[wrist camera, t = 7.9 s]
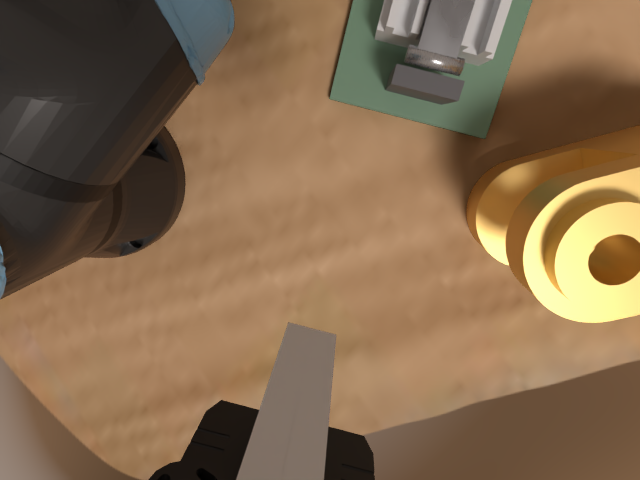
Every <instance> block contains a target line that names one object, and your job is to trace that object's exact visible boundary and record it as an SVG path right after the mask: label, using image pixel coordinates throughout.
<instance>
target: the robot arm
mask: <svg viewBox="0 0 640 480" xmlns="http://www.w3.org/2000/svg"><path fill="white" fill-rule="evenodd" d="M234 20H235V18H234V10H233V6H232V3H231V1H230V0H0V299H2V298H4V297H6V296H8V295H10V294H12V293H14V292H16V291H18V290H20V289H22V288H24V287H26V286H28V285H30V284H32V283H34V282H36V281H38V280H40V279H42V278H44V277H46V276H48V275H50V274H52V273H54V272H56V271H58V270H60V269H62V268H64V267H66V266H68V265H70V264H72V263H74V262H76V261H78V260H79V259H81V258H83V257H93V258H114V257H121V256H126V255H129V254H132V253H135V252H138V251H140V250H142V249H144V248H145V247H147V246H149V245H151V244H152V243H154V242H156V241H157V240H158V239H160V238H161V237H162V236H163V235H164V234H165V233H166V232H167V231H168V230H169V229H170V228H171V227H172V225H173V224H174V222H175V220H176V219H177V217H178V215H179V213H180V210H181V207H182V204H183V199H184V193H185V174H184V167H183V163H182V159H181V156H180V154H179V151H178V149H177V147H176V144H175V143H174V141H173V139H172V137H171V136H170V134H169V133H168V131H167V130H166V129H165V127H164V125H165V124H166V123H167V121H168V120H169V119H170V118H171V116H172V115H173V114H174V113H175V111H176V110H177V109H178V107H179V106H180V105H181V104H182V102H183V101H184V100H185V99H186V97H187V96H188V95H189V94H190V92H191V91H192V90H193V89H194V87H195V86H196V85H197V84H198V85H199V86H200V85H201V84H202V83H203V82H204V80H205V73H206V71H207V70H208V68H209V67H210V66H211V64H212V63H213V61H214V60H215V59H216V57H217V56H218V54H219V53H220V52H221V50H222V49H223V48H224V46H225V45H226V43H227V42H228V40H229V39H230V37H231V35H232V32H233V29H234ZM335 344H336V335H335V334H332V333H328V332H324V331H320V330H316V329H312V328H308V327H305V326H301V325H297V324H293V323H289V322H288V325H287V328H286V331H285V334H284V337H283V340H282V343H281V346H280V349H279V352H278V355H277V358H276V361H275V364H274V367H273V370H272V373H271V376H270V379H269V382H268V385H267V388H266V391H265V394H264V397H263V400H262V403H261V406H260V410H257V409H253V408H249V407H246V406H242V405H238V404H234V403H230V402H227V401H223V400H221V401H220V402H218V403H217V404H215V405H214V406H213V407H211V408H210V409H209V410H207V411H206V413H205V414H204V416H203V418H202V420H201V422H200V424H199V426H198V429H197V430H196V432H195V434H194V436H193V438H192V440H191V442H190V444H189V445H188V447H187V449H186V451H185V453H184V455H183V457H182V459H181V461H179V462H173V463H170V464H168V465H166V466H164V467H162V468H160V469H159V470H157V471H156V472H155V473H154V474H153V475H152V476H151V477H150V479H149V480H375V478H374V477H375V476H374V460H373V452H372V450H371V449H370V447H369V445H368V443H367V441H366V439H365V437H364V436H362V435H358V434H354V433H351V432H347V431H343V430H339V429H335V428H332V427H328V425H329V413H330V402H331V390H332V378H333V367H334V355H335Z"/></svg>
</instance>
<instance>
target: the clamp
mask: <svg viewBox="0 0 640 480" xmlns="http://www.w3.org/2000/svg"><path fill="white" fill-rule="evenodd" d="M517 206H518V207H517ZM516 207H517V208H516ZM515 209H516V210H515ZM466 214H467V222H468V226H469V229H470V231H471V233H472V235H473V237H474V238H475V239H476V241H477V242H478V243H479V244H480V245H481V246H482V247H483V248H484V249H485V250H486V251H487V252H488V253H489V254H491V255H492V256H493V257H494V258H495V259H497V260H498V261H500V262H502V263H504V264H506V265H509V266H510V268H511V270H512V272H513V274H514V275H515V277H516V278H517V279H518V281H519V282H520V283H521V284H522V285H523V286H524V287H525V288H526V289H527V290H528V291H529V292H530V293H531V294H533V295H534V296H535V297H536V298H537V299H538V300H539V301H540V302H541V303H542V304H543V305H544V306H545V307H547V308H548V309H549V310H551V311H552V312H554V313H556V314H558V315H560V316H562V317H564V318H567V319H570V320H574V321H579V322H588V323H598V322H607V321H612V320H617V319H622V318H626V317H631V316H636V315H640V125H638V126H634V127H631V128H627V129H623V130H619V131H616V132H612V133H608V134H605V135H601V136H597V137H594V138H590V139H586V140H583V141H579V142H575V143H571V144H568V145H564V146H560V147H557V148H553V149H549V150H546V151H542V152H538V153H534V154H531V155H527V156H523V157H520V158H516V159H512V160H509V161H505V162H503V163H500V164H498V165H496V166H494V167H493V168H491V169H490V170H488V171H487V172H486V173H485V174H484V175H483V176H482V177H481V178H480V179H479V180H478V181H477V183H476V184H475V186H474V187H473V189H472V191H471V193H470V196H469V199H468V203H467V211H466Z"/></svg>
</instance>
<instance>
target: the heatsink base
mask: <svg viewBox="0 0 640 480" xmlns="http://www.w3.org/2000/svg"><path fill="white" fill-rule="evenodd" d="M430 1H431V0H353V3H352V7H351V12H350V16H349V20H348V24H347V28H346V32H345V36H344V40H343V45H342V49H341V53H340V57H339V61H338V65H337V69H336V74H335V78H334V82H333V86H332V90H331V94H330V98H329V99H331V100H335V101H338V102H342V103H346V104H350V105H354V106H358V107H362V108H366V109H370V110H374V111H377V112H381V113H385V114H389V115H393V116H397V117H401V118H405V119H409V120H412V121H416V122H420V123H424V124H428V125H432V126H436V127H440V128H444V129H448V130H451V131H455V132H459V133H463V134H467V135H471V136H475V137H479V138H483V139H485V138H486V135H487V132H488V129H489V126H490V124H491V121H492V118H493V115H494V112H495V109H496V106H497V103H498V100H499V97H500V94H501V91H502V88H503V85H504V82H505V79H506V76H507V73H508V71H509V68H510V65H511V62H512V59H513V56H514V53H515V50H516V47H517V44H518V41H519V38H520V35H521V32H522V29H523V26H524V23H525V20H526V18H527V15H528V12H529V9H530V6H531V3H532V0H475V3H474V6H473V10H472V13H471V16H470V19H469V22H468V25H467V28H466V31H465V34H464V38H463V41H462V44H461V47H460V50H459V53H458V56H457V57H460V58H464V59H465V64H464V67H463V70H462V73H461V75H460V76H455V75H452V74H448V73H444V72H440V71H436V70H432V69H428V68H424V67H420V66H416V65H412V64H408V63H405V62H404V60H405V56H406V53H407V49H408V47H409V45H413V46H418V42H419V39H420V35H421V32H422V28H423V25H424V21H425V18H426V15H427V11H428V8H429V4H430Z"/></svg>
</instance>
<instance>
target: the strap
mask: <svg viewBox="0 0 640 480" xmlns="http://www.w3.org/2000/svg"><path fill="white" fill-rule="evenodd" d="M474 3H475V0H431V1H430V4H429V8H428V11H427V15H426V18H425V21H424V25H423V28H422V32H421V35H420V39H419V42H418V46H413V45H409V47H408V49H407V53H406V56H405V60H404V62H405V63H408V64H412V65H416V66H420V67H424V68H428V69H432V70H436V71H440V72H444V73H448V74H452V75H455V76H460V75H461V73H462V70H463V67H464V64H465V59H464V58H460V57H457V56H458V53H459V50H460V47H461V44H462V41H463V38H464V34H465V31H466V28H467V25H468V22H469V19H470V16H471V13H472V10H473V6H474Z"/></svg>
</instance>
